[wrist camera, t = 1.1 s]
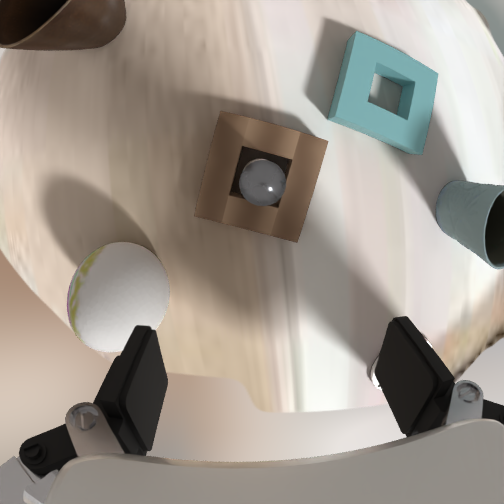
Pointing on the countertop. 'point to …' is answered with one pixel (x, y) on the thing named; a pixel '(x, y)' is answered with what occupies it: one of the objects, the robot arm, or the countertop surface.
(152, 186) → the countertop surface
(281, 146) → the mount block
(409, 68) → the socket block
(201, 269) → the countertop surface
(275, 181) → the pin
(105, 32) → the plant pot
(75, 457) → the robot arm
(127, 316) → the decorative egg
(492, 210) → the grey-blue cup
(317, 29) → the countertop surface
